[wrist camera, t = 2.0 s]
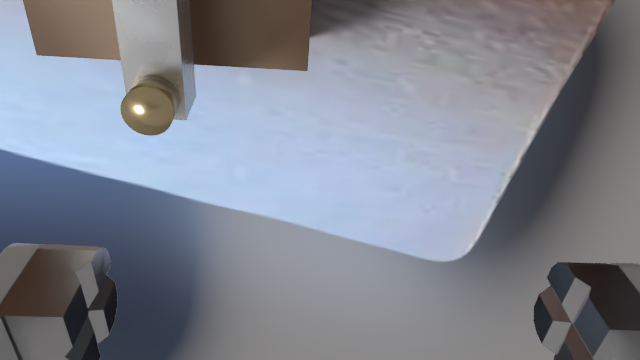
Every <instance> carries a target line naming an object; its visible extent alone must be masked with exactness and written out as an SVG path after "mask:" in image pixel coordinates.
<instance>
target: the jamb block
mask: <svg viewBox="0 0 640 360" xmlns="http://www.w3.org/2000/svg"><path fill="white" fill-rule="evenodd" d="M189 1H190V15H191V30H192V44H193V59H194V64H197V65H214V66H231V67H248V68H266V69H283V70H300V71H307V68H308V53H309V38H310V23H311V8H312V0H189ZM23 2H24V6H25V10H26V14H27V18H28V22H29V26H30V30H31V34H32V38H33V42H34V46H35V50H36V54H37V55H42V56H60V57H77V58H94V59H111V60H121V56H120V50H119V43H118V37H117V30H116V24H115V17H114V11H113V4H112V0H23Z"/></svg>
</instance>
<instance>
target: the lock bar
mask: <svg viewBox="0 0 640 360" xmlns="http://www.w3.org/2000/svg"><path fill="white" fill-rule="evenodd" d="M112 4H113V11H114V17H115V24H116V30H117V37H118V43H119V50H120V56H121V63H122V69H123V76H124V82H125V89H126V96H125V97H124V99H123V101H122V103H121V114H122V117H123V119H124V121H125V122H126V124H127V125H128V126H129V127H130V128H132V129H133V130H134V131H136V132H138V133H141V134H144V135H158V134H161V133H163V132H165V131H166V130H167V129H168V128H169V127H170V125H171V123H172V121H173V119H176V120H187V117H188V115H189V112H190V110H191V107H192V105H193V102H194V100H195V97H196V88H195V74H194V59H193V44H192V30H191V15H190V1H189V0H112Z"/></svg>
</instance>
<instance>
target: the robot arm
mask: <svg viewBox="0 0 640 360" xmlns="http://www.w3.org/2000/svg"><path fill="white" fill-rule="evenodd" d="M110 265H111V262H110V258H109V255H108V251H107V250H106V249H105V248H103V247H90V246H72V245H53V244H44V245H40V244H25V243H14V244H11V245H10V246H8V247H6V248H5V249H4V250H3V252H2V253H1V254H0V360H99V359H100V357H101V356H100V352H99V349H98V345H97V344H98V343H99V342H101V341H102V340H103V339H104V338H105V337H107V336H108V335H109V334H110V331H111V329H112V326H113V324H114V320H115V315H116V309H117V289H116V285H115V282H114V281H113V280H112V279H111V278H110V277H108V276H107V275H106V274H107V272H108V270H109V267H110ZM547 279H548V281H549V283H550V285H551V286H550V287H549V288H547V289H546V290H544V291H543V292H541V293H540V294H539V296H538V298H537V301H536V303H535V306H534V324H535V328H536V332H537V334H538V337H539V339H540V341H541V343H542V344H543V345H544V346H545V347H547V348H548V349H549V350H550V351H552V352H553V353H554V354H555V356H554V360H640V265H639V264H633V263H610V264H607V263H572V262H558V263H556V264H555V265H554V266H553V267H552V268H551V270H550V272H549V274H548V276H547Z"/></svg>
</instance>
